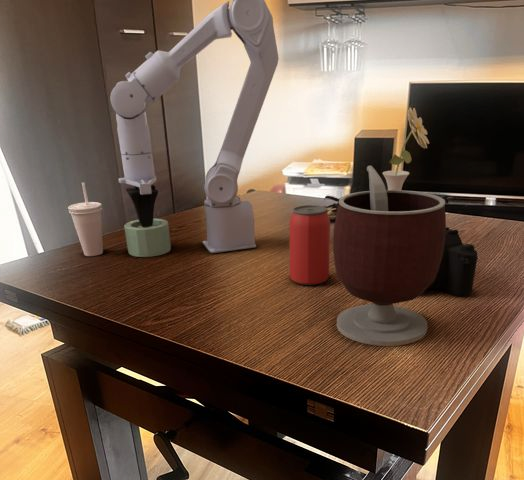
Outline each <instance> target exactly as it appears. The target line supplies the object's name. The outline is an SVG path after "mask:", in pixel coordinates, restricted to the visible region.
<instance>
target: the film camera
mask: <svg viewBox="0 0 524 480" xmlns="http://www.w3.org/2000/svg"><path fill="white" fill-rule="evenodd" d="M477 263H478V251H477V250H475V245H474V244H471V243H465V244H464V243H463V240H462V238H461V236H460V235H459V230H458V229H450V227H448V226H446V236H445V244H444V251H443V256H442V260H441V263H440V267H439V270H438V273H437V275H436V277H435V280H434V281H433V283H432V284H431V285H430V286H429V287H428V288H427V289H430V290H438V289H439V290H441V291H443V292H446V293H448V294H450V295H452V296H454V297H467V296H471V294H472V292H473V288H474V287H473V286H474V282H475V276H476V269H477Z"/></svg>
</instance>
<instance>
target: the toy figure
mask: <svg viewBox="0 0 524 480" xmlns="http://www.w3.org/2000/svg"><path fill="white" fill-rule="evenodd" d="M340 198H341V197H337V196H334V195H331V194H330V195H325V197H324V198H323V201H325V200H326V199H327V200H331V201H333V203H332V204H329V205H327V206H325V205H322V206H323V207H326V208H327V213H328V216H329V217H336V214H337V210H338V206H339V199H340ZM329 219H330V223H331V222H332V223H335V219H332V218H329Z"/></svg>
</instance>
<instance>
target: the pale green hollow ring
mask: <svg viewBox="0 0 524 480" xmlns="http://www.w3.org/2000/svg"><path fill="white" fill-rule="evenodd" d="M138 226H142V225H141V224H140V222H139V219H135V220H132V221H128V222H126V223H125V224H124V225H123V228H124V236H125V241H126V248H127V253H128V254H129V255H130V256H131V257H137V258H150V257H157V256H162V255H165V254H167V253H169V252H170V251H171V250H172V243H171V236H170V225H169V221H168V220H166V219H163V218H153V226H154V227H148V228H138Z"/></svg>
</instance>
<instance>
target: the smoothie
mask: <svg viewBox="0 0 524 480" xmlns="http://www.w3.org/2000/svg"><path fill="white" fill-rule="evenodd" d="M81 186H82V187H81V188H82V193H83V197H84V201H83V202H77V203H73V204H70V205H69V206H68V207H67V209H68V213H69V214H70V215H71V218H72V222H73V225H74V227H75V231H76V234H77V237H78V239H79V243H80V245H81V246H80V247H81V249H82V252H83V255H84V256H86V257H94V256H95V257H96V256H100V255H102V254H103V253H104V246H103V245H104V243H103V224H102V211H103V206H102V203H101V202H97V201H89V198H88V194H87V193H88V192H87V188H86V182H84V181H83V182H81Z"/></svg>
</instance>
